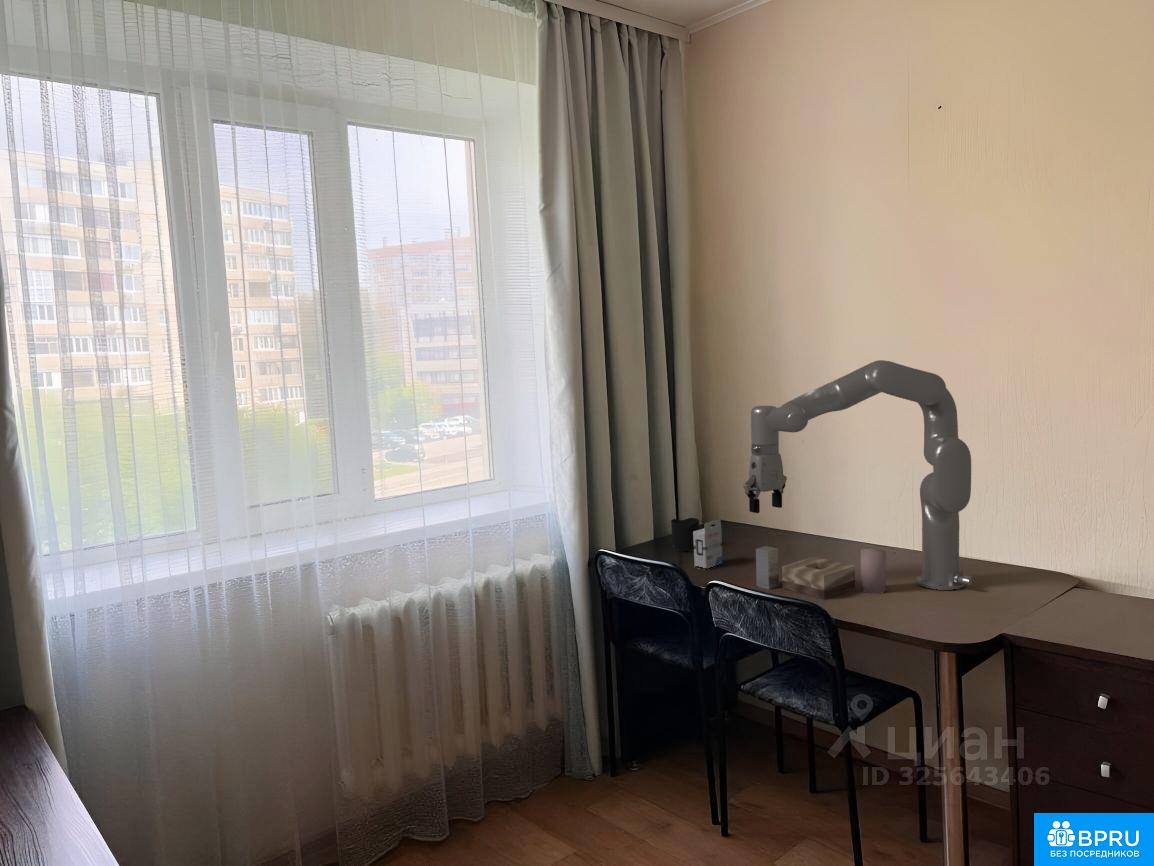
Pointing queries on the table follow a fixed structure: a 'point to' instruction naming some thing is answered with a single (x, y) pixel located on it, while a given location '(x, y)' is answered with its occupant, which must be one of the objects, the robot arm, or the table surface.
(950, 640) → the table surface
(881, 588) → the round peg
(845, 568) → the bore block
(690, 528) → the pen holder
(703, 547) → the ink box
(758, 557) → the square peg
